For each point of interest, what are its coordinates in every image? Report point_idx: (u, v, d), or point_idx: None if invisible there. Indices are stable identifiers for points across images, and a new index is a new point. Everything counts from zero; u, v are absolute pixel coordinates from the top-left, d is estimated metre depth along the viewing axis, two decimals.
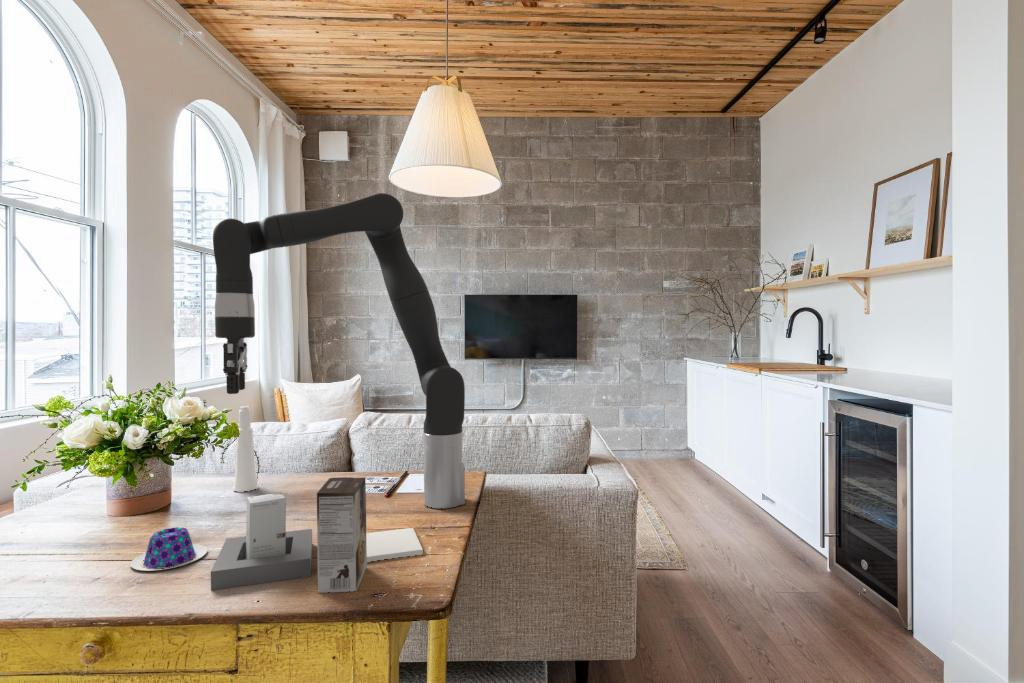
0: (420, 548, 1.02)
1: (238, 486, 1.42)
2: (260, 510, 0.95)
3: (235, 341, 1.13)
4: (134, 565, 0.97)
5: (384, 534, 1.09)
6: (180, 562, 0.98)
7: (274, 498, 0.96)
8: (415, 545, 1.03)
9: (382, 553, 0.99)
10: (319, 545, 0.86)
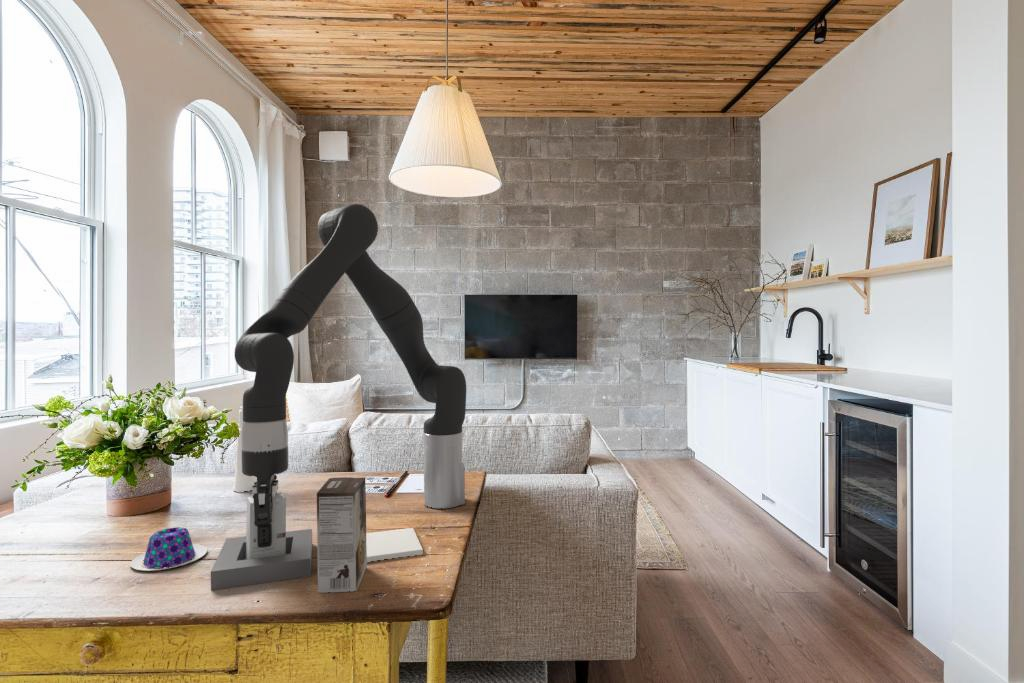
0: (420, 548, 1.02)
1: (238, 486, 1.42)
2: None
3: (266, 481, 0.93)
4: (134, 564, 0.97)
5: (384, 534, 1.09)
6: (177, 563, 0.97)
7: None
8: (415, 545, 1.03)
9: (382, 553, 0.99)
10: (319, 545, 0.86)
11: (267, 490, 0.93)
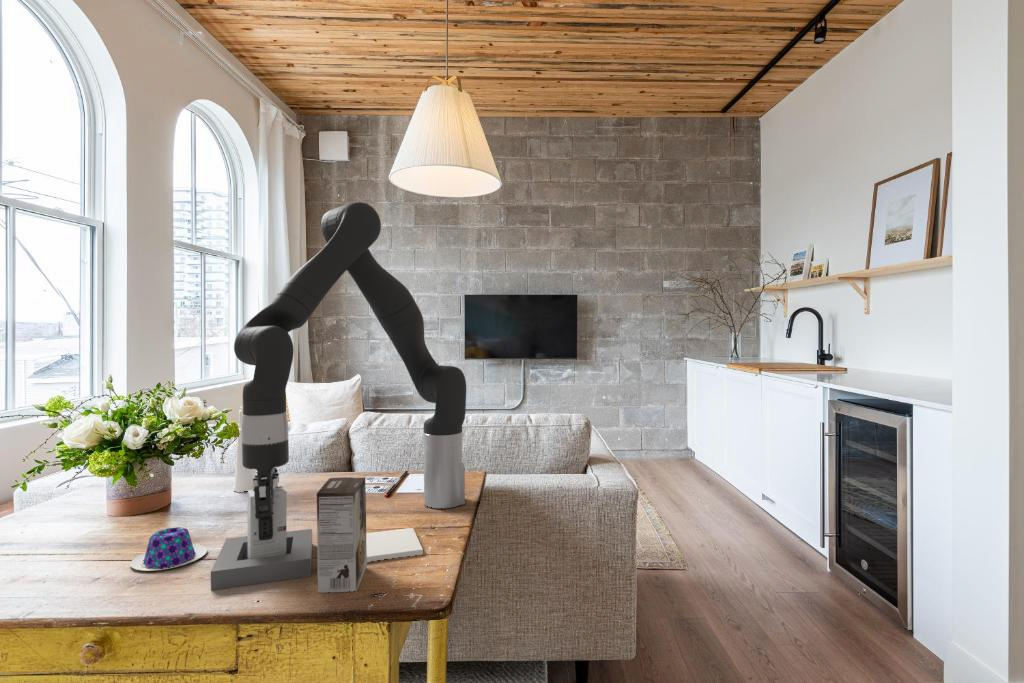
0: (420, 548, 1.02)
1: (238, 486, 1.42)
2: None
3: (267, 474, 0.93)
4: (134, 563, 0.97)
5: (384, 534, 1.09)
6: (175, 563, 0.97)
7: None
8: (415, 545, 1.03)
9: (382, 553, 0.99)
10: (319, 545, 0.86)
11: (268, 483, 0.93)
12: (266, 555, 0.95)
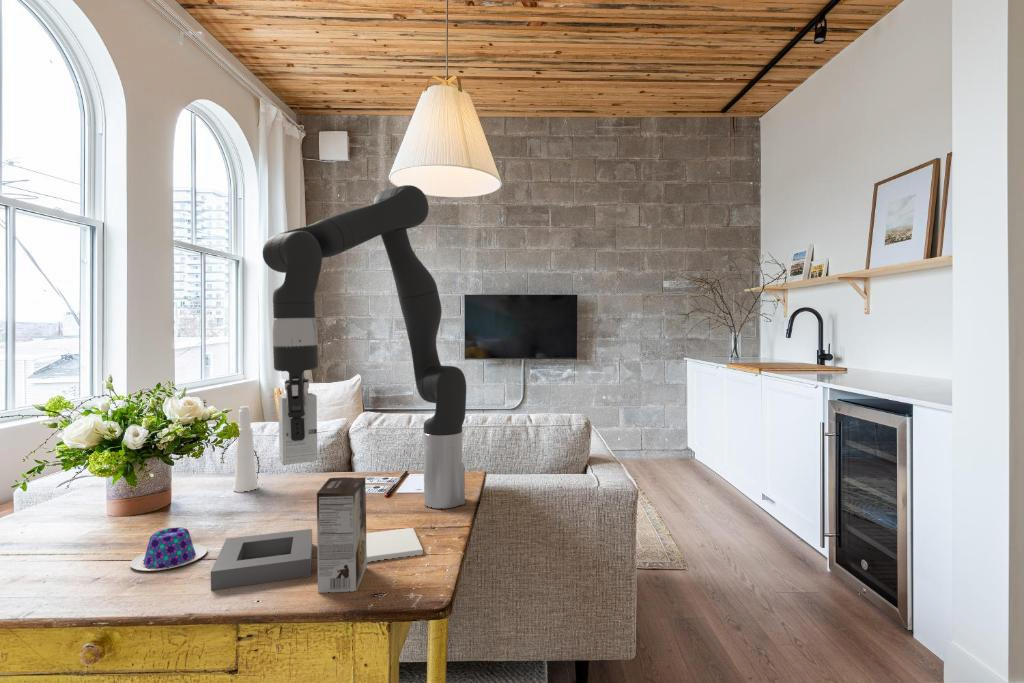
0: (420, 548, 1.02)
1: (238, 486, 1.42)
2: None
3: (298, 375, 0.95)
4: (135, 562, 0.98)
5: (384, 534, 1.09)
6: (173, 564, 0.97)
7: None
8: (415, 545, 1.03)
9: (382, 553, 0.99)
10: (319, 545, 0.86)
11: (299, 384, 0.95)
12: (298, 457, 0.97)
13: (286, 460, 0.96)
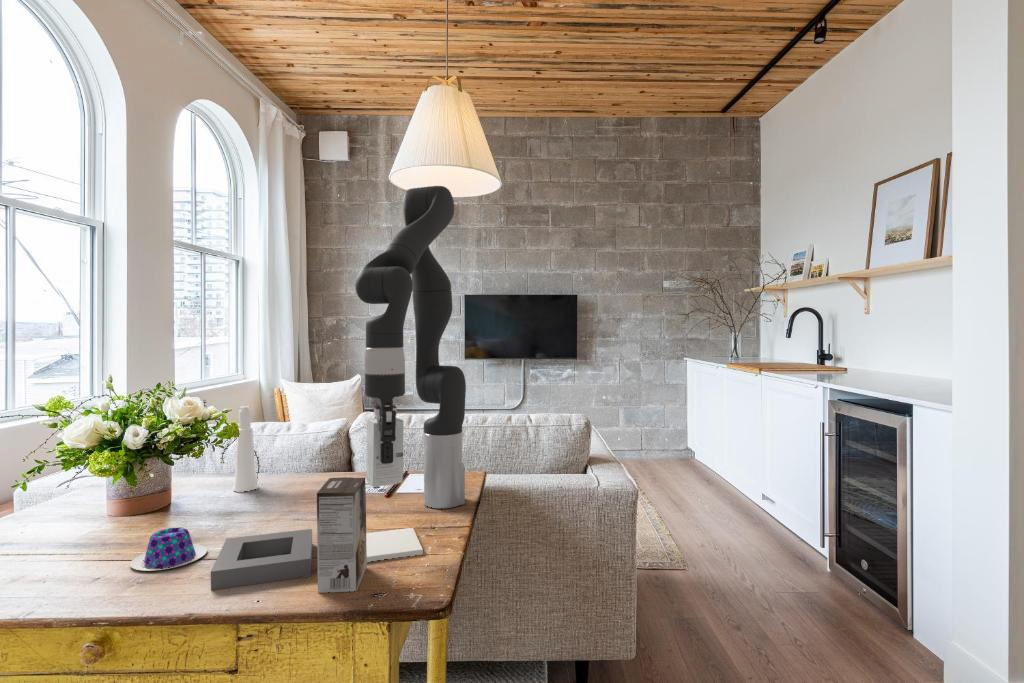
0: (420, 548, 1.02)
1: (238, 486, 1.42)
2: None
3: (390, 402, 1.01)
4: (135, 561, 0.98)
5: (384, 534, 1.09)
6: (171, 564, 0.97)
7: None
8: (415, 545, 1.03)
9: (382, 553, 0.99)
10: (319, 545, 0.86)
11: (391, 410, 1.01)
12: (386, 479, 1.03)
13: (375, 482, 1.02)
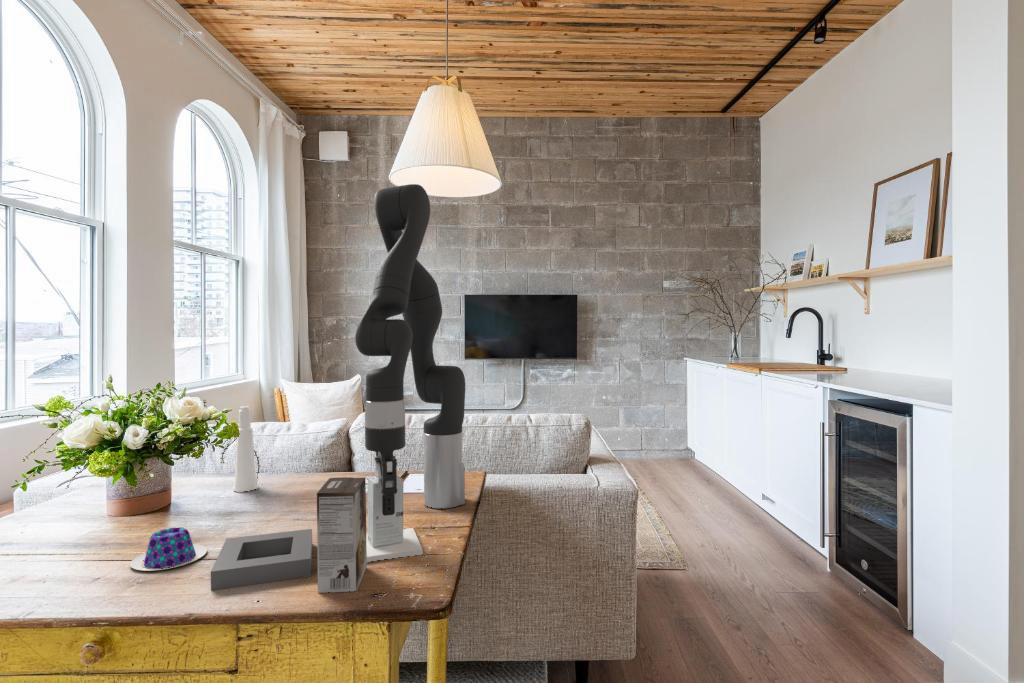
0: (420, 548, 1.02)
1: (238, 486, 1.42)
2: None
3: (390, 455, 1.01)
4: (136, 560, 0.99)
5: None
6: (169, 565, 0.97)
7: None
8: (415, 545, 1.03)
9: (382, 553, 0.99)
10: (319, 545, 0.86)
11: None
12: (386, 538, 1.03)
13: (375, 542, 1.02)
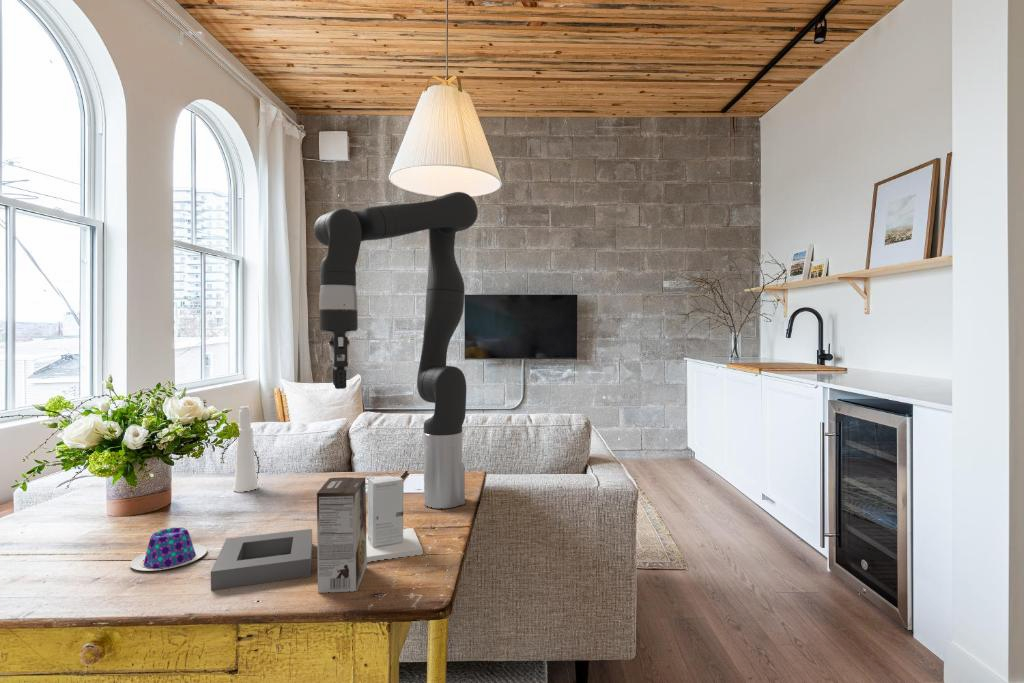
0: (420, 548, 1.02)
1: (238, 486, 1.42)
2: (381, 490, 1.03)
3: (342, 334, 1.09)
4: (137, 560, 0.99)
5: None
6: (167, 565, 0.96)
7: (393, 479, 1.04)
8: (415, 545, 1.03)
9: (382, 553, 0.99)
10: (319, 545, 0.86)
11: None
12: (386, 538, 1.03)
13: (375, 542, 1.02)
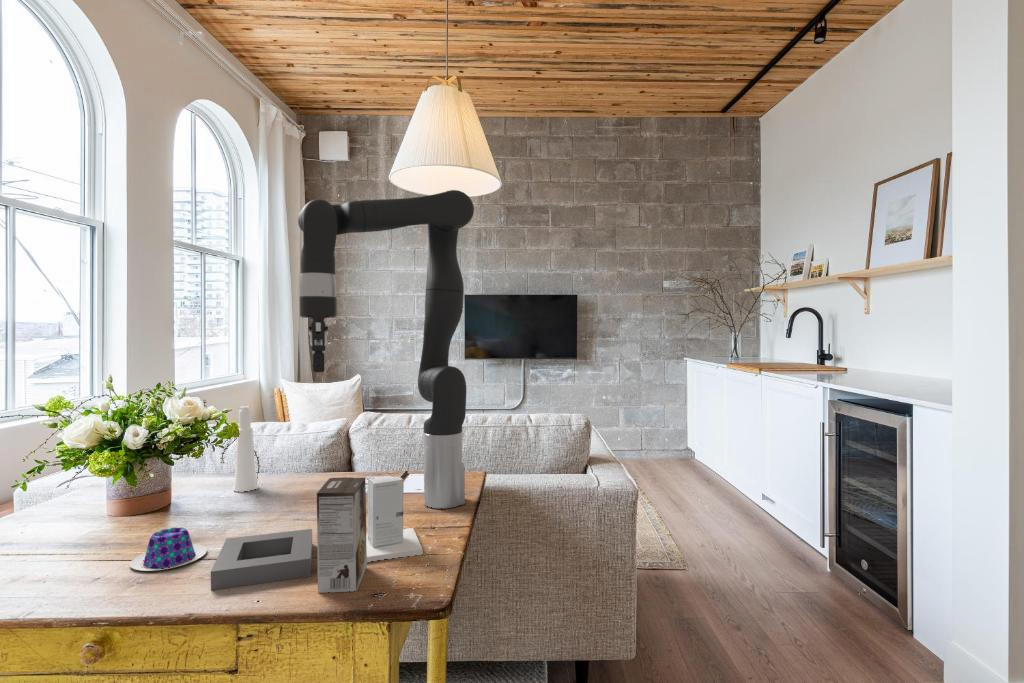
0: (420, 548, 1.02)
1: (238, 486, 1.42)
2: (381, 490, 1.03)
3: (321, 320, 1.14)
4: (138, 559, 0.99)
5: None
6: (165, 565, 0.96)
7: (393, 479, 1.04)
8: (415, 545, 1.03)
9: (382, 553, 0.99)
10: (319, 545, 0.86)
11: None
12: (386, 538, 1.03)
13: (375, 542, 1.02)
